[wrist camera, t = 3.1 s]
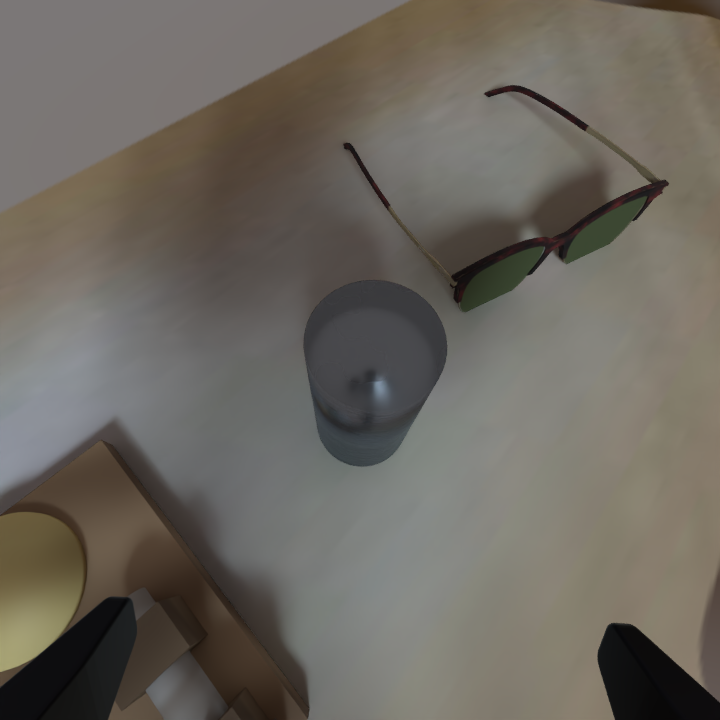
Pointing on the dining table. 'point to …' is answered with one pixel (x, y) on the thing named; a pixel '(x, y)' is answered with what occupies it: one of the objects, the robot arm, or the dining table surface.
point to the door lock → (146, 589)
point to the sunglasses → (526, 256)
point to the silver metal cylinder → (371, 367)
